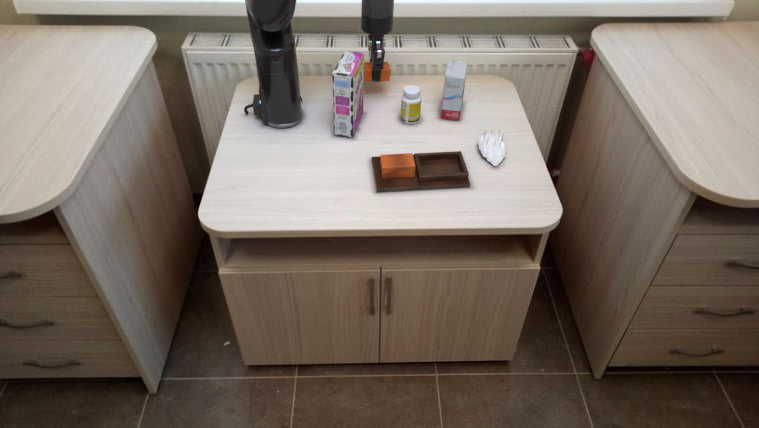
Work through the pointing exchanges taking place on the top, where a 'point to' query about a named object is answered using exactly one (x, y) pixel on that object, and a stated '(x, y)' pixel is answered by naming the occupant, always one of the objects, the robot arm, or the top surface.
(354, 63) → the candy bar box
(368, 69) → the loose pad
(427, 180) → the brown wooden tray
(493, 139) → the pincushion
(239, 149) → the top surface
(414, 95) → the supplement bottle
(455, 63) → the ink box
